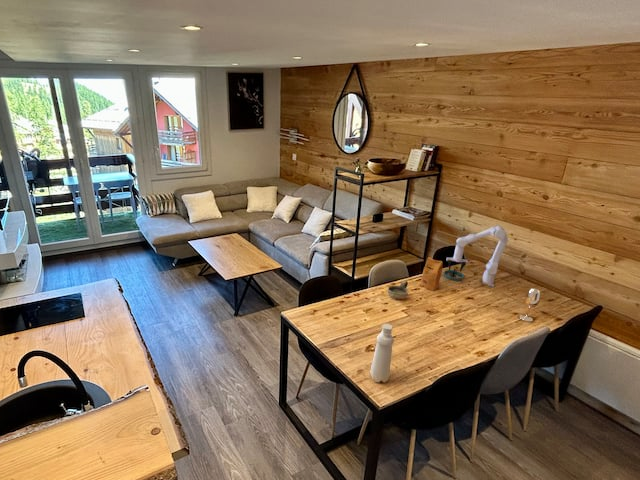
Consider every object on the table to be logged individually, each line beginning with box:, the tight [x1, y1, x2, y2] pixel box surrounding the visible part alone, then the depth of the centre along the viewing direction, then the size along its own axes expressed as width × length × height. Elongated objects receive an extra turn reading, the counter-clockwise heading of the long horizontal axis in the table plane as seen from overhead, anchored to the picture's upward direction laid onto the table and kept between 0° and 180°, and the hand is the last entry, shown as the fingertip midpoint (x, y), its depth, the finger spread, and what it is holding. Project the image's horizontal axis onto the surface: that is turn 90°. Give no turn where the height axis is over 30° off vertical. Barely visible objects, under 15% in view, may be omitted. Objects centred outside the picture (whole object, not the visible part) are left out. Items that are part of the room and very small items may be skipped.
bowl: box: [387, 280, 409, 300], centre depth 266 cm, size 14×18×10 cm
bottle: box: [369, 323, 395, 383], centre depth 186 cm, size 9×9×30 cm
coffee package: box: [420, 256, 444, 291], centre depth 279 cm, size 10×12×22 cm
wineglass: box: [518, 288, 541, 323], centre depth 242 cm, size 8×8×20 cm
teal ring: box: [443, 269, 465, 282], centre depth 295 cm, size 14×14×4 cm
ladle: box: [449, 268, 457, 278], centre depth 296 cm, size 4×4×7 cm
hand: (454, 270), depth 293 cm, fingers open, 7 cm apart
